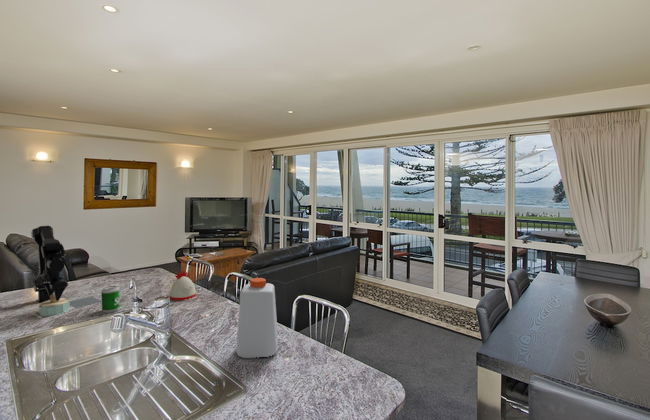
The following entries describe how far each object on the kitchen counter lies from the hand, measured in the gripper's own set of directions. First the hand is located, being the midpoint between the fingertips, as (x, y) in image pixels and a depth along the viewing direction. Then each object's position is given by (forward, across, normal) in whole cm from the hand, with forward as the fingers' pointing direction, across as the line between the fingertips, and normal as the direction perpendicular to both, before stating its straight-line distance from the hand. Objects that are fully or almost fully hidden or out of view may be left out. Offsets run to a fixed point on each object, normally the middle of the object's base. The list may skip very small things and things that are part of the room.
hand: (54, 298), depth 162 cm
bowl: (+7, 0, 0) cm, 7 cm away
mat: (+7, -4, +14) cm, 16 cm away
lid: (+2, 0, 0) cm, 2 cm away
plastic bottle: (+7, +109, +32) cm, 114 cm away
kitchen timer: (+7, +29, +51) cm, 59 cm away
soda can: (+7, +20, +17) cm, 27 cm away
